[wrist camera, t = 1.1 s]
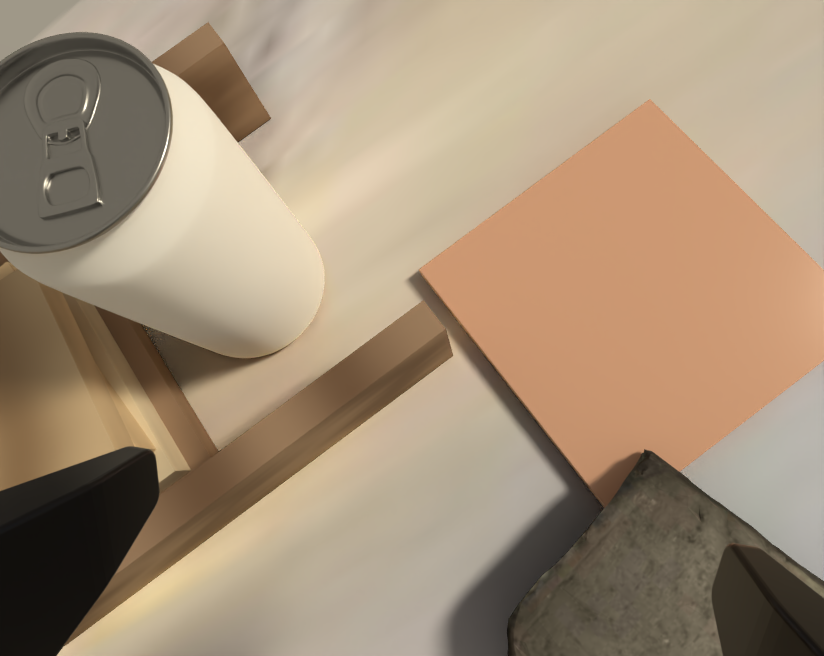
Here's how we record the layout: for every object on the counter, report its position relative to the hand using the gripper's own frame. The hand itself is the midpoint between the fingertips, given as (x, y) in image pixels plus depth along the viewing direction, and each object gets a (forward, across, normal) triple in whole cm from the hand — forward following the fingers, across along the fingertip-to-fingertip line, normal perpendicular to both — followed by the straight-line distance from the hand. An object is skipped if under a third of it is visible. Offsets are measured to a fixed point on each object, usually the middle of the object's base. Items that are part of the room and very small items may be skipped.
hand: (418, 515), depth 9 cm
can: (+15, +10, +2) cm, 18 cm away
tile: (+16, -6, 0) cm, 17 cm away
